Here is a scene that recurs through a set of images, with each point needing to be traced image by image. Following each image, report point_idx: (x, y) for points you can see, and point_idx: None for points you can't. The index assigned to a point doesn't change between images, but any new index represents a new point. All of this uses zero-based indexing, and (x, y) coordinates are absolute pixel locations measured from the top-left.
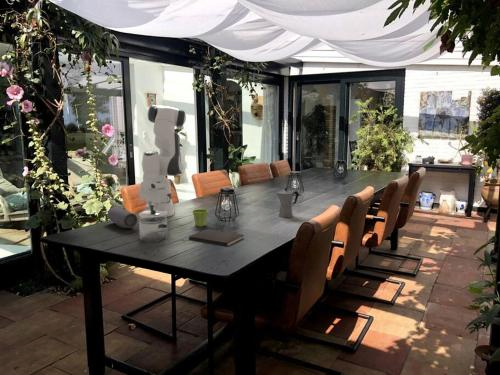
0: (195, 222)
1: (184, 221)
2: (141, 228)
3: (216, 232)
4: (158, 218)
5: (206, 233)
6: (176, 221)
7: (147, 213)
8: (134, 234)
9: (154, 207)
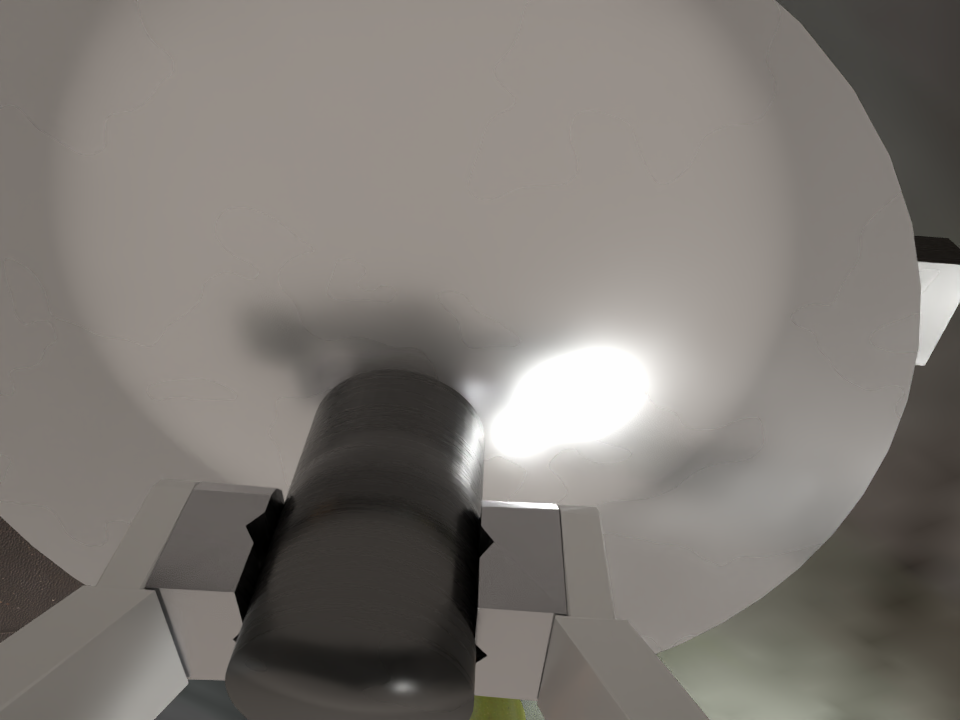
0: (486, 715)
1: (719, 716)
2: None
3: (19, 623)
4: None
5: (38, 565)
6: (798, 690)
7: (536, 321)
8: (940, 46)
9: (97, 593)
